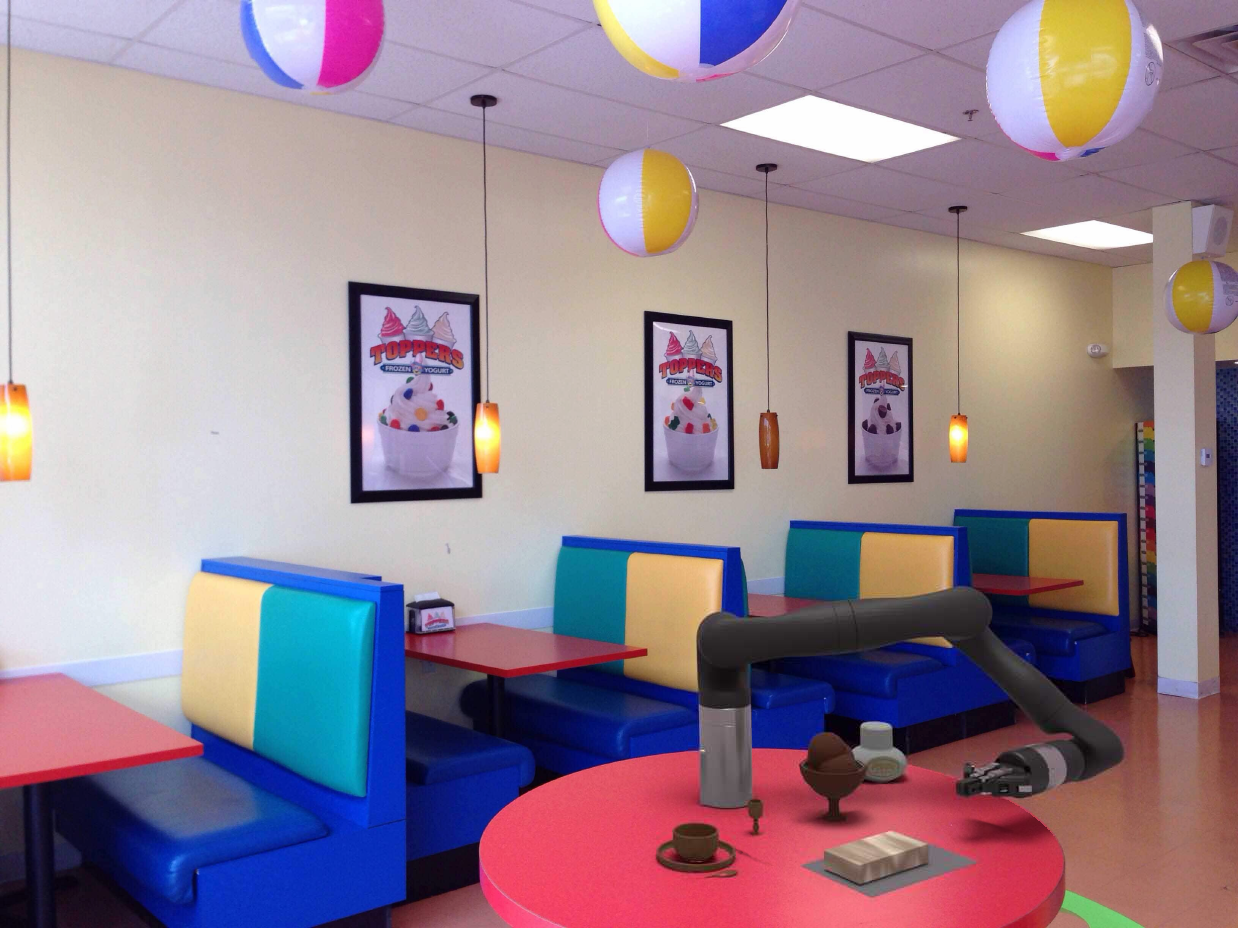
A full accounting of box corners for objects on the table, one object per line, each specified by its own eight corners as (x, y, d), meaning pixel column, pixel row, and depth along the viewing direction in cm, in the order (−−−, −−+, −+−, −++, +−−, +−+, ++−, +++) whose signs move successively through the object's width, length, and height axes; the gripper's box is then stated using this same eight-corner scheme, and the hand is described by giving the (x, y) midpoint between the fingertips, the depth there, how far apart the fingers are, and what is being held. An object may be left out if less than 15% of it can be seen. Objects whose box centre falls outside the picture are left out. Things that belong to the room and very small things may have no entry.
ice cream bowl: (870, 834, 163) (867, 740, 164) (799, 831, 166) (797, 738, 166) (867, 813, 174) (865, 724, 174) (800, 810, 176) (798, 722, 176)
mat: (871, 903, 137) (871, 897, 137) (800, 870, 149) (800, 864, 149) (979, 866, 149) (978, 861, 149) (904, 839, 161) (904, 834, 161)
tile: (929, 863, 149) (859, 885, 141) (892, 849, 154) (824, 870, 147) (928, 843, 149) (859, 864, 141) (891, 830, 155) (823, 849, 147)
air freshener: (899, 770, 198) (898, 718, 199) (912, 783, 190) (911, 729, 190) (843, 772, 198) (842, 720, 198) (854, 784, 190) (853, 730, 190)
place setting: (642, 845, 162) (641, 808, 162) (759, 832, 167) (758, 796, 167) (676, 887, 145) (675, 845, 145) (805, 871, 150) (804, 830, 150)
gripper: (995, 738, 172) (925, 755, 163) (1066, 755, 161) (995, 774, 152) (997, 783, 172) (926, 803, 163) (1068, 802, 161) (997, 825, 152)
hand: (960, 789), depth 158 cm, fingers closed
